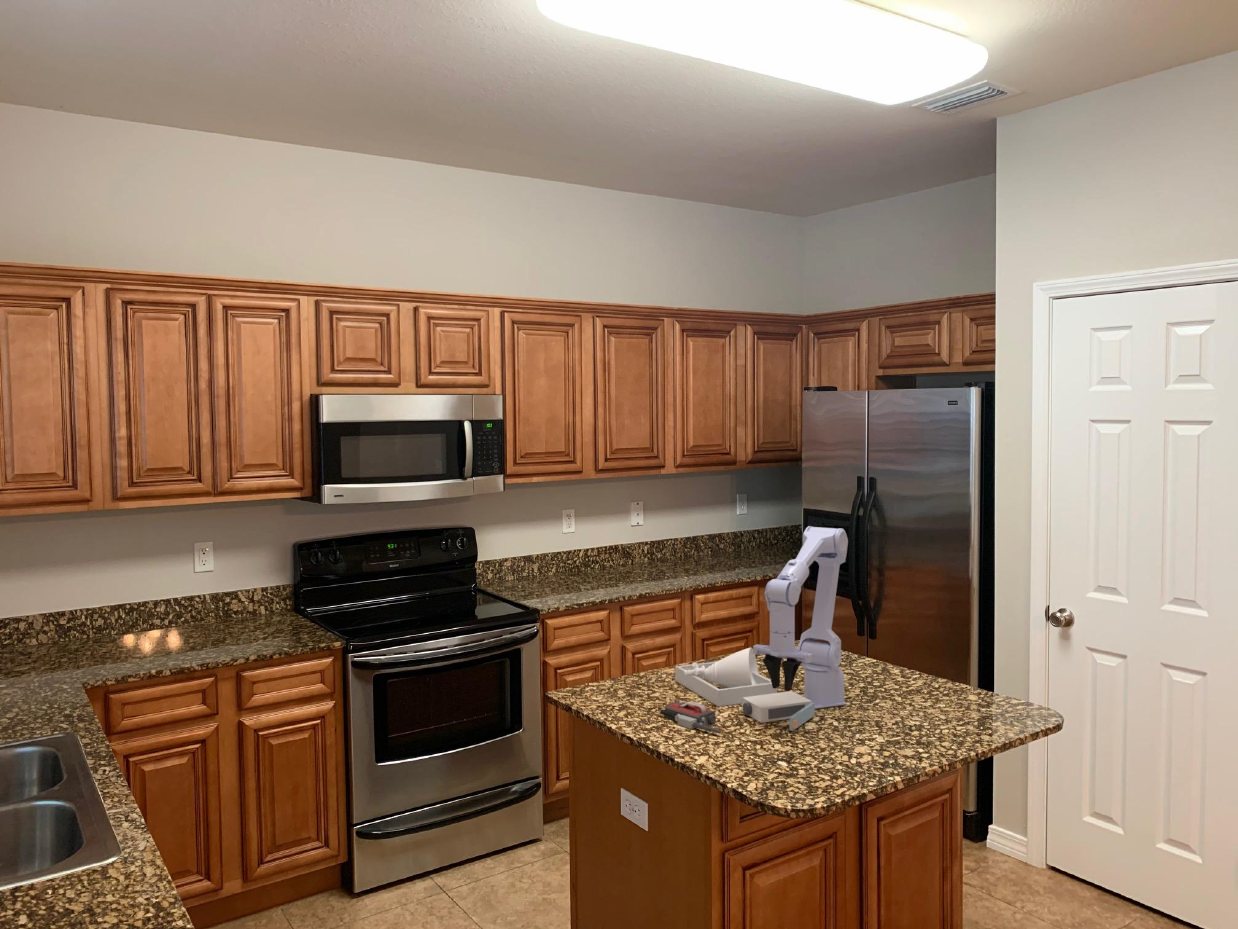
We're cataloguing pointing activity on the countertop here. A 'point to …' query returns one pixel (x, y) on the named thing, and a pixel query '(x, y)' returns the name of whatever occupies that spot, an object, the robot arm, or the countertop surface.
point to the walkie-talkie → (690, 715)
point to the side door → (801, 716)
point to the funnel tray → (722, 695)
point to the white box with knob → (773, 706)
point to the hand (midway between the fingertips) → (782, 688)
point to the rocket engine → (729, 670)
